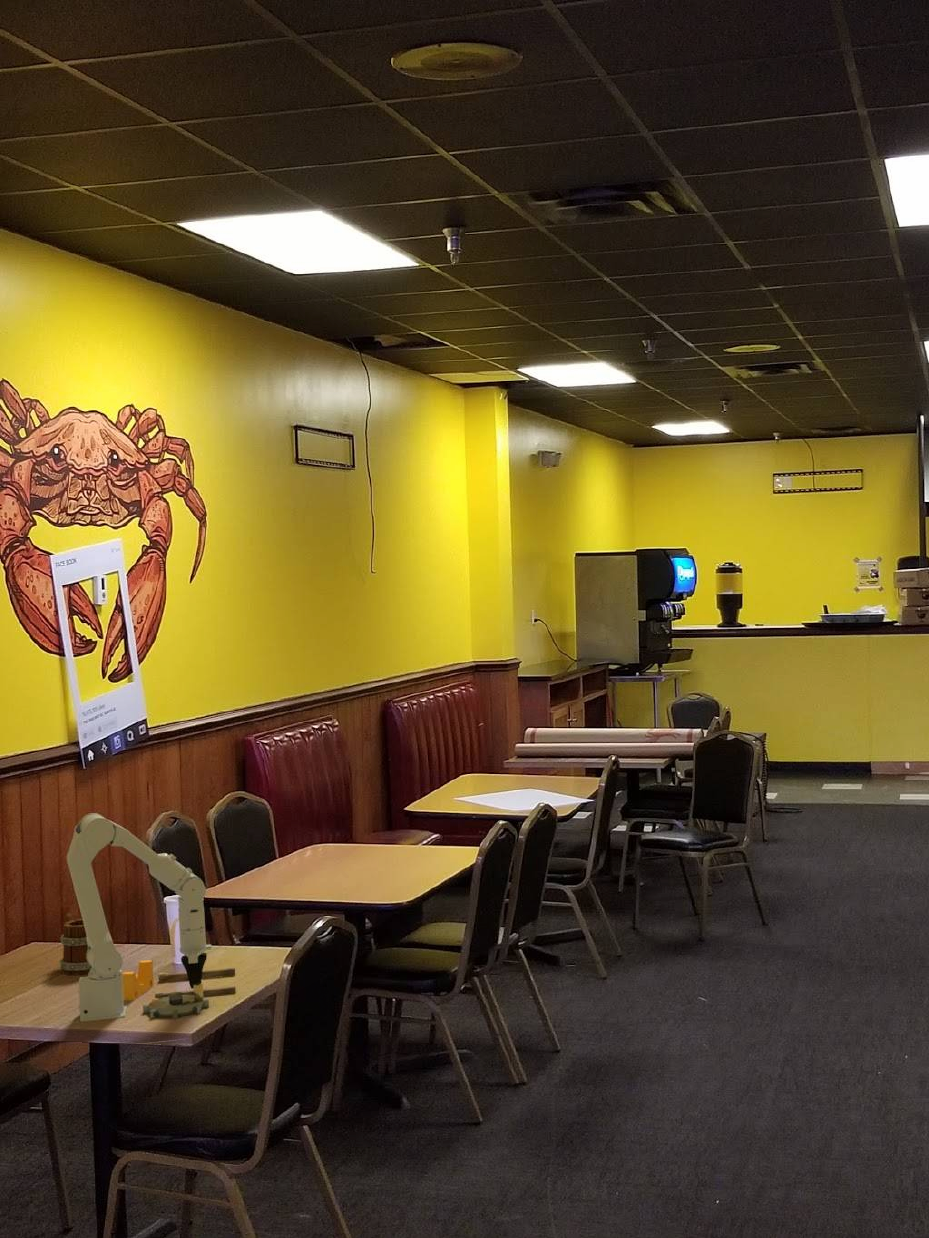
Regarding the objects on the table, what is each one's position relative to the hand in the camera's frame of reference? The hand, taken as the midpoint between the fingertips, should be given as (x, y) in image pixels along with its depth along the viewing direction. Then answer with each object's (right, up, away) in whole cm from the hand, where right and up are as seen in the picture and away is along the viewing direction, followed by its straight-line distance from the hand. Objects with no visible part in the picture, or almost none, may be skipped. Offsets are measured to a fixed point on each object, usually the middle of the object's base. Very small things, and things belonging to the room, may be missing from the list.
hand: (195, 987), depth 325 cm
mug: (-35, -4, +35) cm, 50 cm away
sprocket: (-3, -3, -8) cm, 9 cm away
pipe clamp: (-16, -4, +8) cm, 18 cm away
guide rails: (-2, -3, +11) cm, 11 cm away
